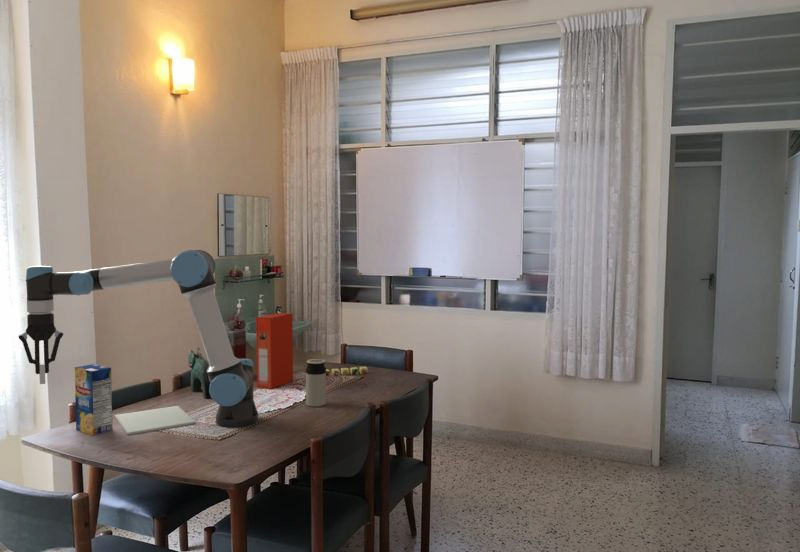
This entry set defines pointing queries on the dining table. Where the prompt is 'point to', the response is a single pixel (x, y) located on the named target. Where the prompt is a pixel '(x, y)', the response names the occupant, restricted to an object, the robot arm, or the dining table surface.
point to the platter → (347, 371)
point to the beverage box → (93, 399)
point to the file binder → (274, 350)
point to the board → (153, 420)
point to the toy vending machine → (237, 340)
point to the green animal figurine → (199, 373)
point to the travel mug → (315, 383)
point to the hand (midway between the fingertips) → (42, 383)
